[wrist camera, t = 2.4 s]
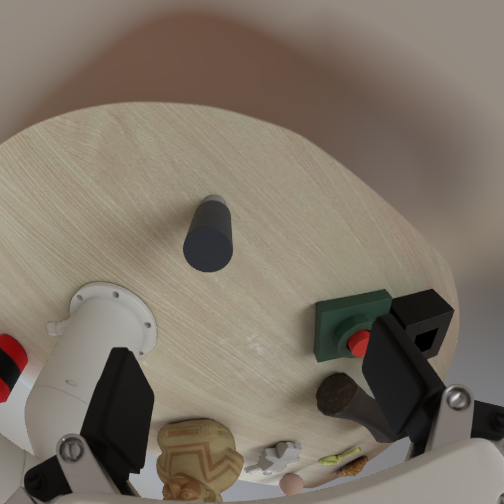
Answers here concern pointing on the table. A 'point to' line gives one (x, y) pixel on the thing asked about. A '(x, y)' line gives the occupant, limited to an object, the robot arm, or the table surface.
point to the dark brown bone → (353, 406)
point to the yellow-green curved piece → (338, 457)
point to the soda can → (10, 364)
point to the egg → (291, 484)
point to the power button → (359, 343)
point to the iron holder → (423, 319)
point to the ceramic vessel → (197, 461)
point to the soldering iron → (209, 236)
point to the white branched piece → (276, 458)
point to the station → (346, 322)
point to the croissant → (353, 467)
